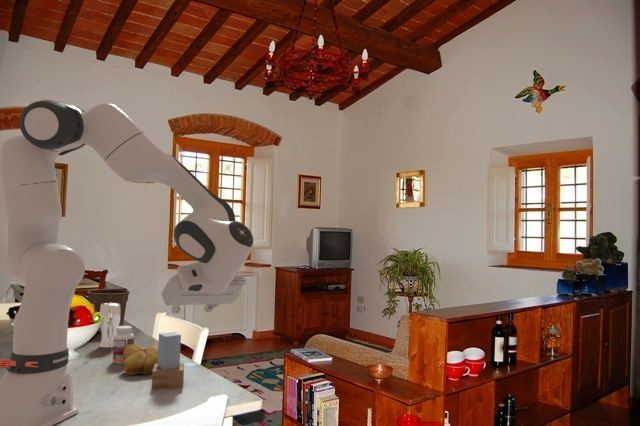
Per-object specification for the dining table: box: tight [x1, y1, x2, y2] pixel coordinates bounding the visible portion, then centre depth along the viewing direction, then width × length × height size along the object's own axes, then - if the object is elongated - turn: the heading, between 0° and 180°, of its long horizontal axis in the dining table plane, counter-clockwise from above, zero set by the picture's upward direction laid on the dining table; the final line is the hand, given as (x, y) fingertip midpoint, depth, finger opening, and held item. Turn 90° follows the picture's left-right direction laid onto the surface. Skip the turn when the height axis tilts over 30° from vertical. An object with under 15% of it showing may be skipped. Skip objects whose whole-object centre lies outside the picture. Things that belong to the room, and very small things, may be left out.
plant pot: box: [87, 288, 131, 334], centre depth 214 cm, size 16×16×16 cm
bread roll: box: [122, 344, 158, 376], centre depth 155 cm, size 13×10×8 cm
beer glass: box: [99, 303, 121, 349], centre depth 187 cm, size 7×7×15 cm
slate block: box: [157, 331, 182, 370], centre depth 144 cm, size 4×4×9 cm
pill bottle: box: [112, 325, 135, 365], centre depth 166 cm, size 6×6×11 cm
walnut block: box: [151, 362, 185, 390], centre depth 144 cm, size 8×8×5 cm
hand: (191, 310), depth 135 cm, fingers open, 8 cm apart
